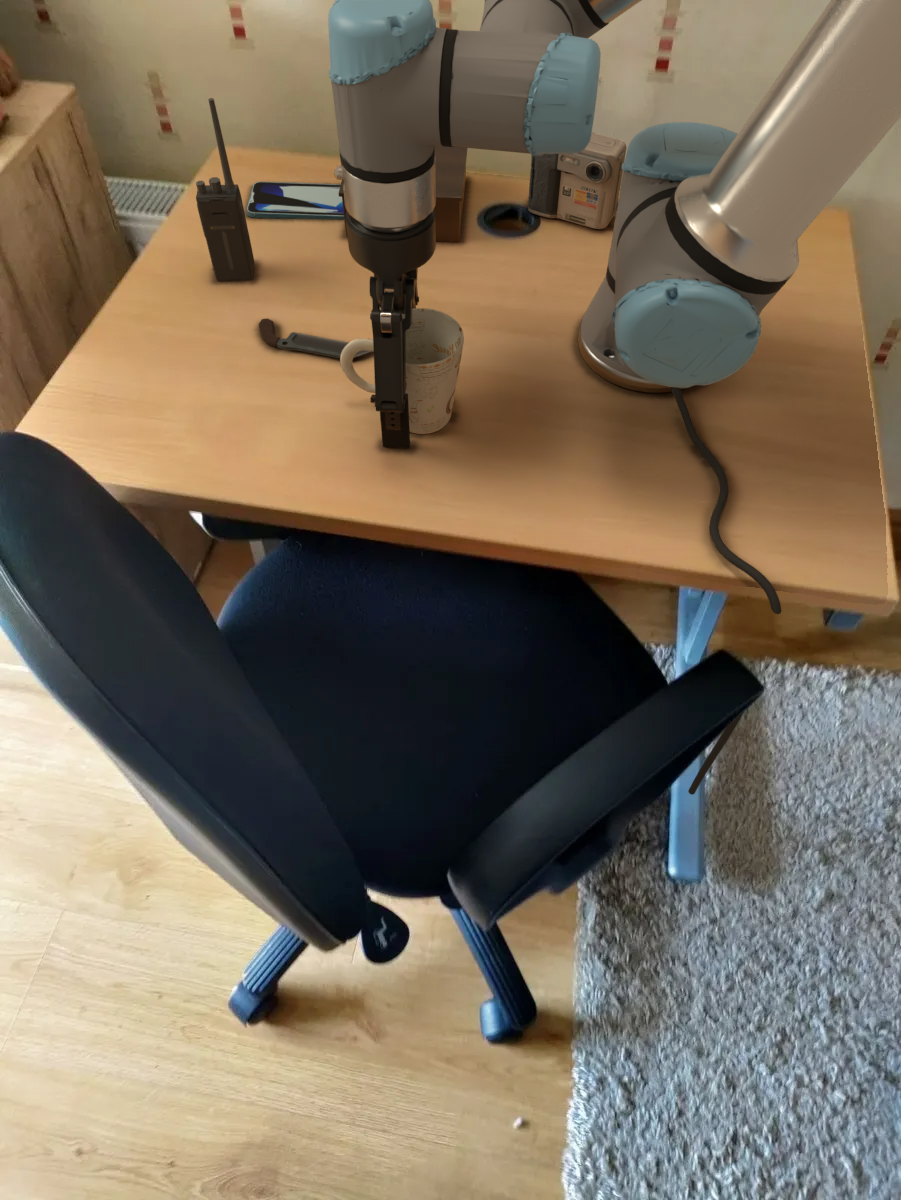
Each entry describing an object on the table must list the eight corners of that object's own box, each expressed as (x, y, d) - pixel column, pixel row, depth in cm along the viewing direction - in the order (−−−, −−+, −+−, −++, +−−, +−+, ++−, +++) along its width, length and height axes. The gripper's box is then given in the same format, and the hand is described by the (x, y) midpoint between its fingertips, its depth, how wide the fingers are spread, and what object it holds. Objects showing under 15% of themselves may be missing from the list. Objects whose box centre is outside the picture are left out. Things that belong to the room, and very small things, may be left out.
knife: (249, 343, 98) (248, 338, 97) (263, 321, 100) (262, 316, 99) (369, 367, 95) (368, 362, 95) (381, 343, 98) (380, 338, 97)
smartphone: (364, 217, 111) (245, 213, 111) (364, 224, 112) (246, 220, 112) (368, 184, 115) (253, 180, 115) (369, 191, 116) (254, 187, 116)
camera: (520, 212, 112) (525, 133, 104) (539, 190, 115) (546, 111, 107) (603, 238, 109) (615, 159, 101) (621, 214, 112) (634, 135, 104)
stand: (461, 243, 108) (461, 197, 103) (343, 238, 109) (338, 192, 104) (468, 178, 117) (468, 132, 112) (358, 174, 117) (354, 128, 112)
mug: (453, 448, 89) (454, 370, 80) (333, 430, 90) (321, 352, 82) (469, 392, 93) (471, 313, 85) (354, 376, 95) (345, 297, 87)
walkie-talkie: (256, 262, 106) (221, 89, 90) (254, 280, 104) (218, 105, 88) (216, 264, 106) (173, 90, 90) (214, 281, 104) (169, 107, 88)
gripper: (361, 136, 79) (377, 338, 98) (325, 288, 67) (351, 487, 85) (444, 140, 79) (445, 341, 98) (424, 293, 67) (428, 491, 85)
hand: (401, 409), depth 92 cm, fingers open, 9 cm apart
